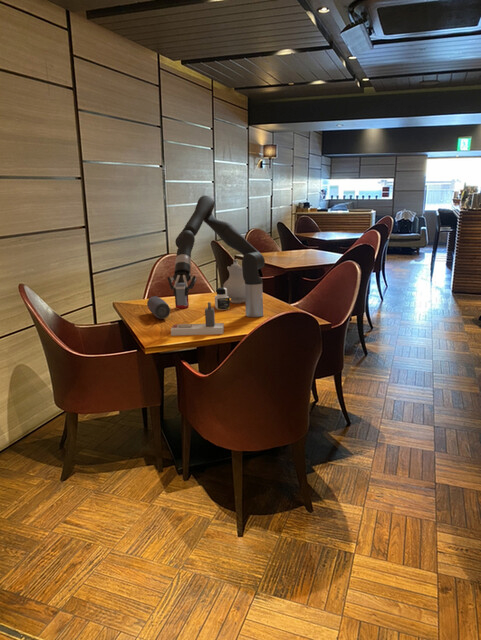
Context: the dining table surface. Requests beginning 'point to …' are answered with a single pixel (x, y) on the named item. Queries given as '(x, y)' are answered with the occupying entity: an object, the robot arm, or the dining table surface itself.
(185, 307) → the canned food
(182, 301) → the plug
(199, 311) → the dining table surface
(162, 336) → the dining table surface
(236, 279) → the ceramic pitcher
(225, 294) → the medicine bottle
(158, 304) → the bluetooth speaker
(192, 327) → the strip
